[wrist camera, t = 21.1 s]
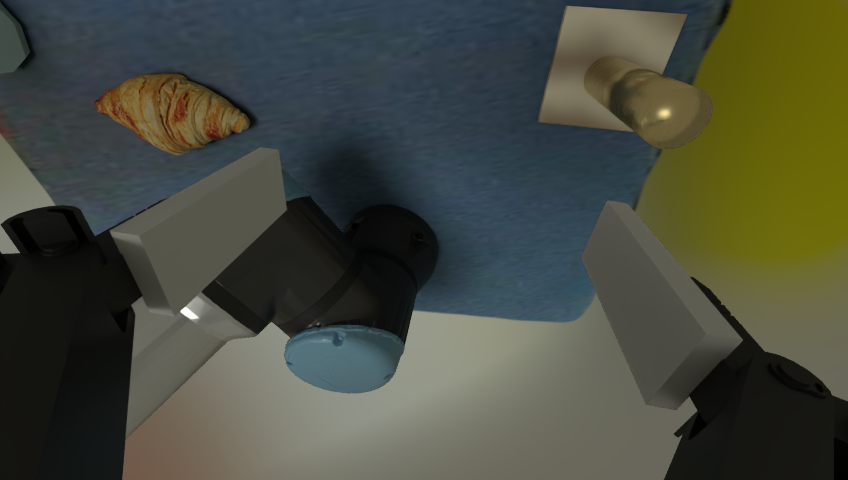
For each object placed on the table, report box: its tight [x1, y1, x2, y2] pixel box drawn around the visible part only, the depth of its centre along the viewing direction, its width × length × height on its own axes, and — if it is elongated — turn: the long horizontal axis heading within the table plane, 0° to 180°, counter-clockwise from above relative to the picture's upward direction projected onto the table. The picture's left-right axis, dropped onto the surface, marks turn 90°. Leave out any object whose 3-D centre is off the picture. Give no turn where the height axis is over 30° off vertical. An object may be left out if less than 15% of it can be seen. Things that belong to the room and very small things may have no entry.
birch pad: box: [537, 6, 687, 132], centre depth 35 cm, size 11×11×1 cm
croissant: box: [94, 74, 250, 155], centre depth 44 cm, size 21×10×8 cm, turn 87°
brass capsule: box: [584, 56, 713, 149], centre depth 28 cm, size 4×4×16 cm
